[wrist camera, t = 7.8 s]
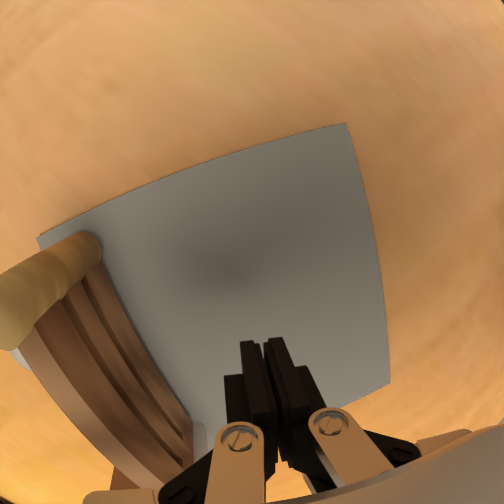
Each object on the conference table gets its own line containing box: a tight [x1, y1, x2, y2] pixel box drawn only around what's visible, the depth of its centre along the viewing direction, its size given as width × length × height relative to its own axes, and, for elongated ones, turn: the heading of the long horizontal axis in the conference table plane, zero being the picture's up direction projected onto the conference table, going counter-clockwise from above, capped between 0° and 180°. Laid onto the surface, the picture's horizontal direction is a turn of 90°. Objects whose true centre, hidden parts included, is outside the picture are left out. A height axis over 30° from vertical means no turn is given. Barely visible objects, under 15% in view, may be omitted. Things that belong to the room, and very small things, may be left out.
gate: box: [0, 232, 194, 490], centre depth 13 cm, size 16×2×9 cm, turn 18°
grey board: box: [10, 123, 390, 490], centre depth 14 cm, size 24×22×11 cm
